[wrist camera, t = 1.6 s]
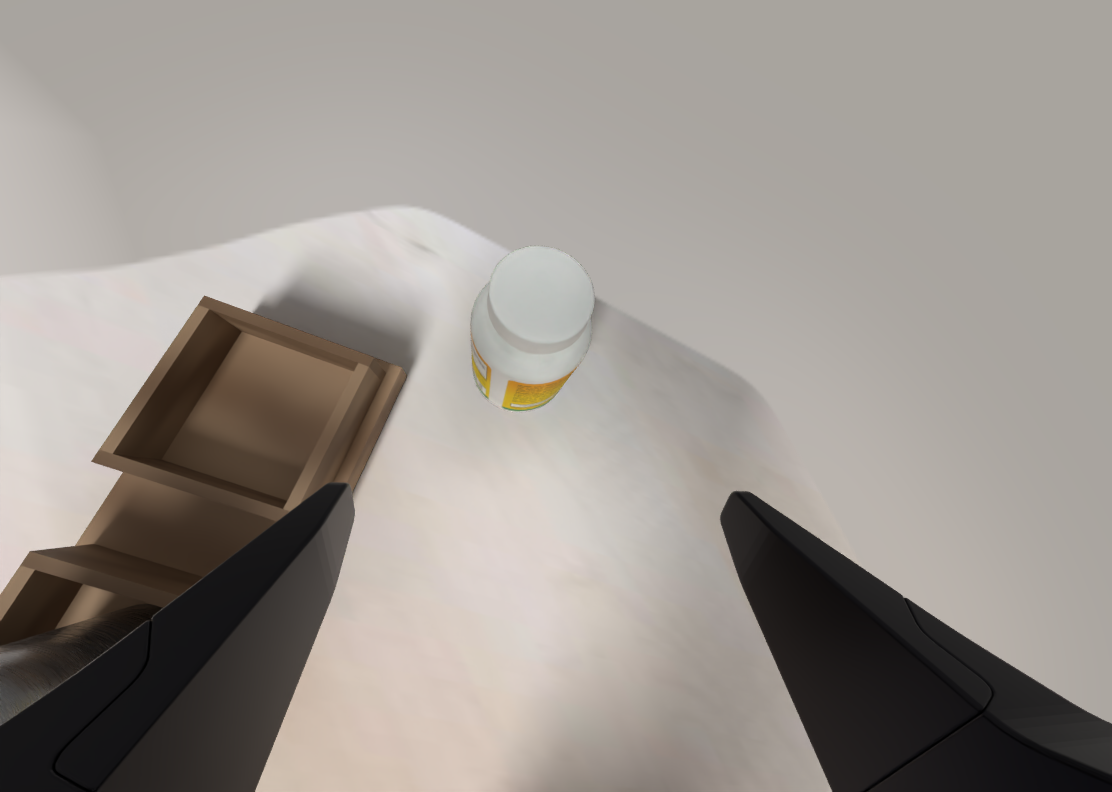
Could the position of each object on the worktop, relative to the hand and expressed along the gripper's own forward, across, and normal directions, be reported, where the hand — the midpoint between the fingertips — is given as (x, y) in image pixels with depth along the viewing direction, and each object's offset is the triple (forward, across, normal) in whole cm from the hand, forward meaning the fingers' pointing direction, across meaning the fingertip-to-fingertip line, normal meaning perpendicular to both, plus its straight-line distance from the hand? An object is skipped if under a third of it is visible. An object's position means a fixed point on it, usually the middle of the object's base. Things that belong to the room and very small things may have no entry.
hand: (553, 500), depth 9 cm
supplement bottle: (+15, 0, +4) cm, 15 cm away
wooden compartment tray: (+8, +14, +10) cm, 19 cm away
